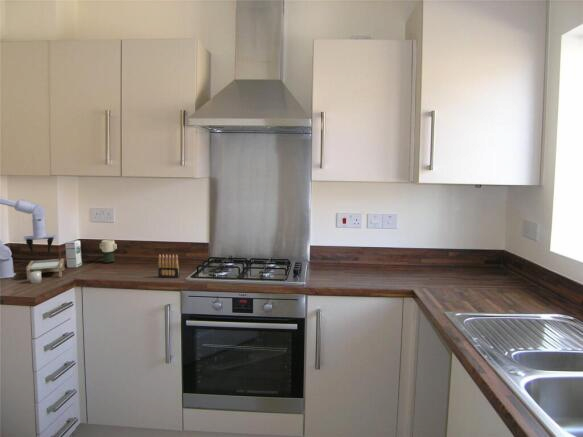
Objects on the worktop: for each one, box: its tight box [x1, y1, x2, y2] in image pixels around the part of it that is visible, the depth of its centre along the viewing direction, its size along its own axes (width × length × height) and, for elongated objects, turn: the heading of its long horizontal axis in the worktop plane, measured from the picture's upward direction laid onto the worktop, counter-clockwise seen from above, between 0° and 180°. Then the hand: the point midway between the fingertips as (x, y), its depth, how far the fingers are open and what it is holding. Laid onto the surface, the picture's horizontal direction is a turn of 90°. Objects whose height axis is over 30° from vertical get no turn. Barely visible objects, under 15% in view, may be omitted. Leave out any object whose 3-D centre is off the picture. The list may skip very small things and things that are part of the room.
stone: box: [29, 271, 42, 284], centre depth 211 cm, size 5×5×5 cm
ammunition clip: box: [158, 253, 181, 279], centre depth 219 cm, size 11×2×12 cm, turn 84°
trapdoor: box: [30, 258, 60, 270], centre depth 224 cm, size 13×12×2 cm
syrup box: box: [64, 239, 83, 268], centre depth 243 cm, size 6×6×14 cm
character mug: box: [99, 239, 118, 264], centre depth 253 cm, size 11×7×13 cm, turn 79°
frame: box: [25, 257, 65, 281], centre depth 224 cm, size 15×16×7 cm
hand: (40, 252), depth 230 cm, fingers open, 7 cm apart
